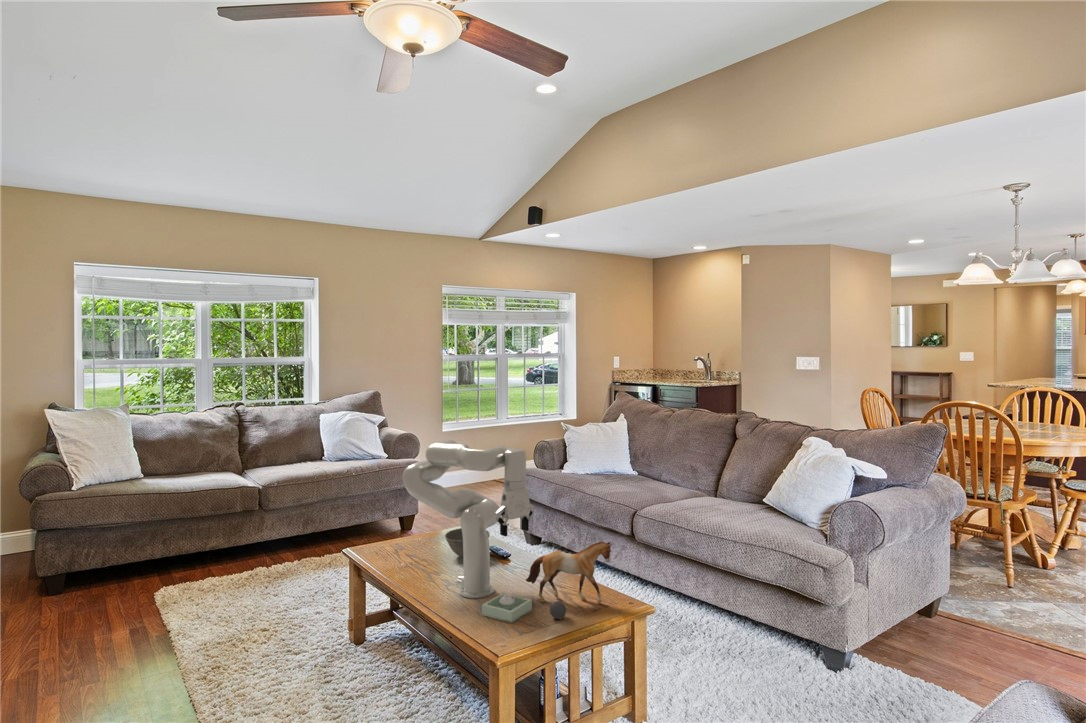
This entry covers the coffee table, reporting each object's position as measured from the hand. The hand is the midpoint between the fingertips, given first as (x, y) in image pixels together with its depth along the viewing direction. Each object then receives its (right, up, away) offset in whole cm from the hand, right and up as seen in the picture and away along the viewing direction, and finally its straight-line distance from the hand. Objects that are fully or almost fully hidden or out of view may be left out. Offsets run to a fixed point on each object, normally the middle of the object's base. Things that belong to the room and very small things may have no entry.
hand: (514, 532), depth 227 cm
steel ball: (-2, -23, -10) cm, 26 cm away
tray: (-2, -24, -10) cm, 26 cm away
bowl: (-22, -23, +47) cm, 57 cm away
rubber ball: (+15, -24, -15) cm, 32 cm away
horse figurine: (+19, -24, +2) cm, 31 cm away
